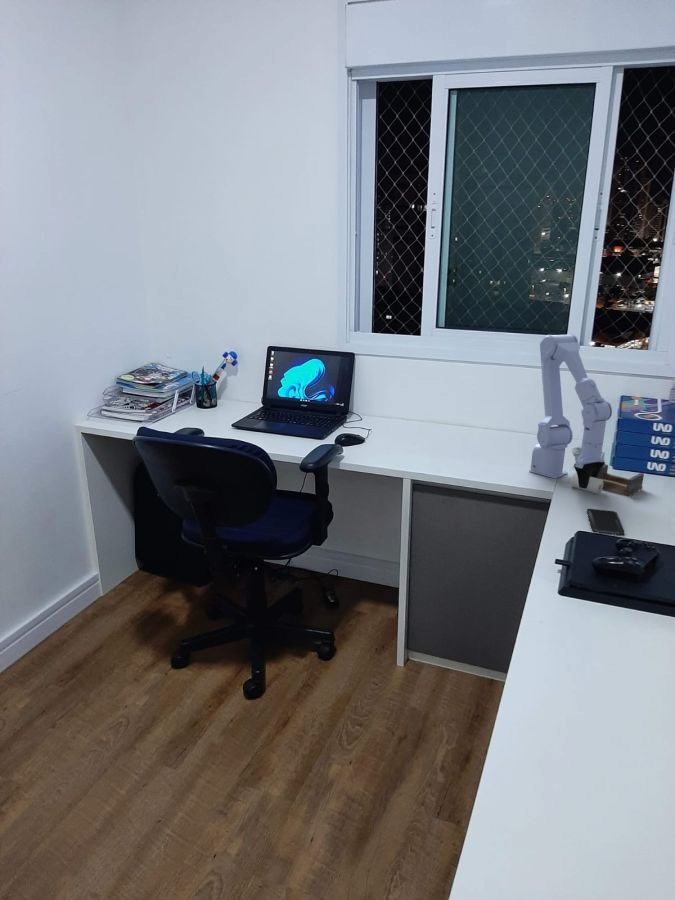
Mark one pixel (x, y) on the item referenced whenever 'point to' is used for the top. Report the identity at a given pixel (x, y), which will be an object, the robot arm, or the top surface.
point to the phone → (605, 522)
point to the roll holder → (620, 482)
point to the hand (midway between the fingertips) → (586, 485)
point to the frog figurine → (577, 451)
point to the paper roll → (593, 485)
